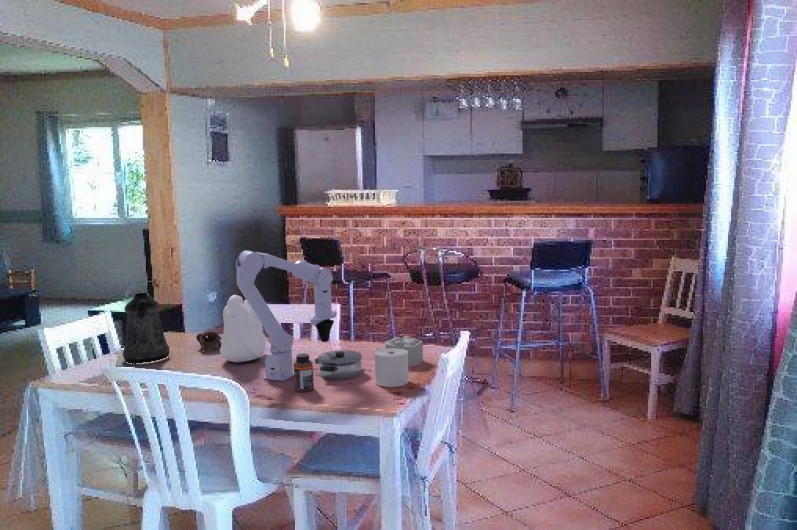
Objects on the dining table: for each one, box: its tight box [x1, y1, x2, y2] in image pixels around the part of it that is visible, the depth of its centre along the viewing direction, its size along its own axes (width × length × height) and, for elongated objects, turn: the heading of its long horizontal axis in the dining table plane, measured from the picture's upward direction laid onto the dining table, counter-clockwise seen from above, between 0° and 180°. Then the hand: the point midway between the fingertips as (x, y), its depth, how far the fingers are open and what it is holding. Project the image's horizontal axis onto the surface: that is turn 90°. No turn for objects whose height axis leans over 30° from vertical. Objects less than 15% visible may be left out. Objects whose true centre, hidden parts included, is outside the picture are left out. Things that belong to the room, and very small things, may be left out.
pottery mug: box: [195, 330, 223, 352], centre depth 280 cm, size 12×10×8 cm
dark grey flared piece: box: [122, 292, 170, 364], centre depth 266 cm, size 16×19×25 cm
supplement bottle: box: [293, 353, 315, 393], centre depth 225 cm, size 6×6×11 cm
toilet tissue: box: [374, 347, 410, 388], centre depth 230 cm, size 11×12×10 cm
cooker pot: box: [314, 357, 362, 381], centre depth 242 cm, size 19×16×5 cm
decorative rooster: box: [219, 294, 267, 363], centre depth 264 cm, size 25×16×25 cm, turn 155°
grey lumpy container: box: [384, 335, 424, 367], centre depth 253 cm, size 10×13×9 cm
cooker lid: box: [317, 349, 363, 365], centre depth 241 cm, size 15×15×2 cm
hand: (324, 341), depth 247 cm, fingers closed
